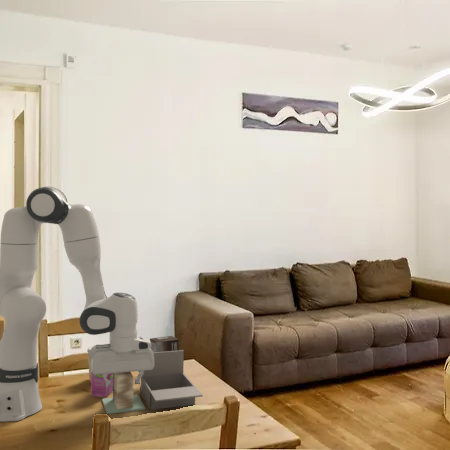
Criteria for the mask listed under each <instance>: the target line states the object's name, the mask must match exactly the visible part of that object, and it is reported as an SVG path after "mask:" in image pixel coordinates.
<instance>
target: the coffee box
mask: <svg viewBox="0 0 450 450" xmlns="http://www.w3.org/2000/svg"><path fill="white" fill-rule="evenodd" d="M149 341H150V342H151V348H150V349H151V350H152V351H153V353H155V352H167V351H179V350H180V349H179V346H180V345H179V342H180V340H179V339H178V338H177V337H175V336H173V335H169V336H160V337H152V338H151V337H149Z"/></svg>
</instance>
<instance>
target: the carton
mask: <svg viewBox="0 0 450 450" xmlns="http://www.w3.org/2000/svg"><path fill="white" fill-rule="evenodd" d="M184 351H185V350H184V349H181V350H180V349H179V351H167V352H155V353H153V354H154V368H153V369H152V370H144V373H143V375H142V377H141V379H140V395H141V396H142V399H143V400H144V402H145V403H146V406H147V407H148V408H149V411H152V410H159V409H160V410H161V409H165V408H166V409H167V408H175V407H176V408H177V407H185V406H193V405H196V398H202V397H203V394H202V393H201V392H200V390H199V389H198V388H197V386H195V384H194V383H193V382H192V381H191V380H190V379H189V378H188V376H187V375H186V374H185V373H184V361H185V359H184V354H185V353H184Z"/></svg>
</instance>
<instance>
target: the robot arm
mask: <svg viewBox="0 0 450 450" xmlns="http://www.w3.org/2000/svg"><path fill="white" fill-rule="evenodd" d="M43 224H53V225H57V226H59V228H60V230H61V235H62V240H63V246H64V250H65V254H66V256H67V258H68V260H69V263H70V265H72V266H74V267H75V268H76V269H77V270H78V272H79V274H80V277H81V279H82V284H83V289H84V295H85V300H86V301H85V304H84V305H85V306H84V309H83V310H82V312H81V314H80V316H79V325H80V328H81V330H83V332H84V333H86V334H88V335H92V336H97V335H102V334H108V333H109V343H103V344H94V345H95V346H94V347H92V349H91V352H90V355H91V358H92V362H91V371H92V373H93V374H94V375H97V374H102V376H103V378H104V380H105V381H106V387H111V381H110V380H107V378H106V377H107V374H109V373H120V372H131V373H132V372H137V373H138V374H137V376H136V377H134V384H135V385H141V377H142V375H143V373H144V370H152V369H153V368H154V354H153V351H152V350H151V349H150V348H151V342H150V339H148V338H147V337H143V336H139V335H138V330H137V323H138V319H139V317H138V303H137V300H136V298H135V297H134V296H133V295H132V294H128V293H126V292H114V293H112V294H111V295H110V296H108V297H107V295H106V291H105V287H104V282H103V278H102V273H101V257H102V256H101V249H102V248H101V239H100V234H99V230H98V226H97V222H96V219H95V216H94V214H93V212H92V209H91V208H90V206H87V205H85V204H81V203H75V204H70V203H68V200H67V196H66V195H65V193H63V192H62V191H61V190H60V189H58V188H56V187H53V186H42V187H39V188H38V187H37V188H36V189H34V190H32V191H31V192H30V193H29V195H28V196H27V198H26V202H25V206H22V207H21V206H19V207H13V208H10V209H8V210H7V211H6V212H5V213H4V215H3V219H2V224H1V230H0V317H2V318H4V329H3V333H2V337H1V339H0V422H17V421H21V420H23V419H26V417H29V416H32V415H34V414H36V413H38V412H39V411H41V410H42V408H43V404H42V400H41V397H40V392H39V391H40V390H39V377H40V375H39V374H40V372H39V371H40V367H39V362H38V336H39V332H40V327H41V324H42V323H41V322H42V321H43V319H44V318H45V315H46V313H47V305H46V301H45V300H44V299H43V298H42V297H41V295H40V294H39V293H37V292H36V291H34V290H32V284H33V279H34V275H35V272H36V271H37V269H38V266H39V264H38V263H39V261H38V260H39V258H38V257H39V256H38V255H39V230H40V227H41V225H43ZM109 347H110V348H109Z"/></svg>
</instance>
